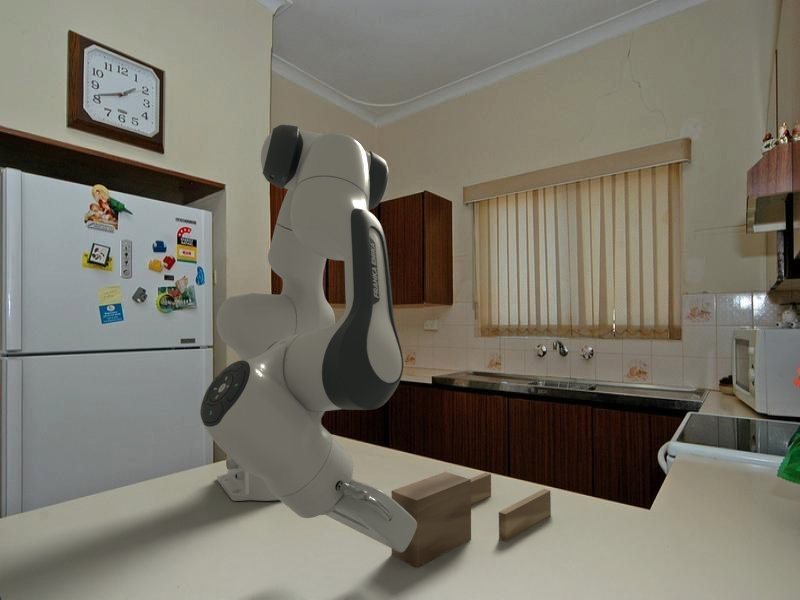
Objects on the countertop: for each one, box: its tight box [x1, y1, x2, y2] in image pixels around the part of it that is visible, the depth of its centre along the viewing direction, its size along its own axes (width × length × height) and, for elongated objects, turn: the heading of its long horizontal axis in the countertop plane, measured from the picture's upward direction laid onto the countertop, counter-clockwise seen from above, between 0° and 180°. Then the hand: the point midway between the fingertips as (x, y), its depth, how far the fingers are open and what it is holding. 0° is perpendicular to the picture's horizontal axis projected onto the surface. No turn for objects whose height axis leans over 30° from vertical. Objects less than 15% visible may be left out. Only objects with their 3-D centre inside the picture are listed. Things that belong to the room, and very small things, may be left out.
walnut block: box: [391, 471, 472, 569], centre depth 67 cm, size 5×12×9 cm, turn 134°
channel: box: [470, 472, 552, 542], centre depth 78 cm, size 13×14×4 cm
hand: (377, 533), depth 59 cm, fingers closed
